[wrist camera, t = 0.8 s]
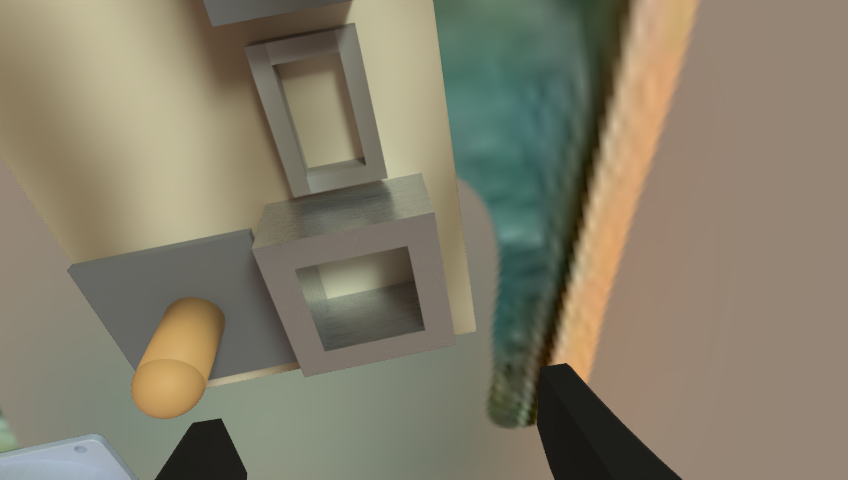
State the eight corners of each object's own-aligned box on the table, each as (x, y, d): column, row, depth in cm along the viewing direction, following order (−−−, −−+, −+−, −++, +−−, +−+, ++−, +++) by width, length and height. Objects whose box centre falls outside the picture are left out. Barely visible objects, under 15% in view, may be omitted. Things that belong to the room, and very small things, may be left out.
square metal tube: (309, 322, 20) (304, 376, 18) (265, 204, 17) (251, 249, 15) (442, 294, 20) (456, 344, 18) (421, 172, 17) (434, 211, 15)
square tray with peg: (153, 385, 21) (107, 490, 17) (72, 264, 17) (-10, 359, 13) (301, 354, 21) (291, 450, 17) (250, 227, 18) (222, 311, 14)
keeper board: (168, 380, 22) (142, 446, 19) (-137, -100, 12) (-282, -113, 10) (471, 316, 22) (489, 371, 20) (401, -194, 13) (418, -234, 10)
